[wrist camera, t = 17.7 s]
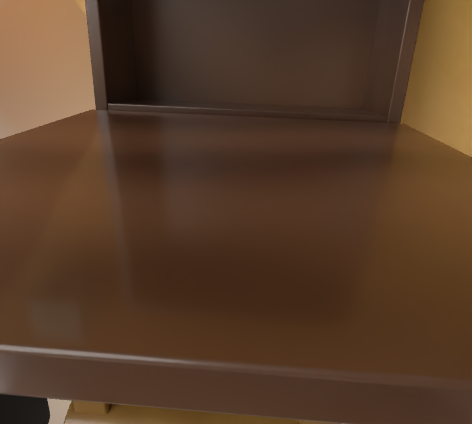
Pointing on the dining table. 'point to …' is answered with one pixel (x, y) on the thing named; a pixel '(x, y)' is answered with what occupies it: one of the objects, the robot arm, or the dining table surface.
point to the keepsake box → (254, 57)
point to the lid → (236, 270)
